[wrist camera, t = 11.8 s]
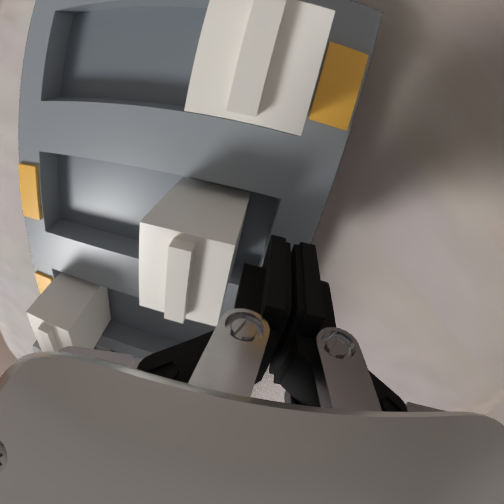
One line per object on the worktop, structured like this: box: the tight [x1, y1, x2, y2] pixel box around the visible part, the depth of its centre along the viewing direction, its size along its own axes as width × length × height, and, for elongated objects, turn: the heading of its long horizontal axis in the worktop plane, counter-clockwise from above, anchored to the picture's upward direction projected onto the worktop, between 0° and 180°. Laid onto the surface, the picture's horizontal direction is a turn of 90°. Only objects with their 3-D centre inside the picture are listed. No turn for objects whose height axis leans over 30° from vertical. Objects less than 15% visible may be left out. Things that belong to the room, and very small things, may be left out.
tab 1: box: [26, 272, 111, 352], centre depth 15 cm, size 4×3×5 cm
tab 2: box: [139, 177, 251, 326], centre depth 11 cm, size 4×3×5 cm
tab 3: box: [184, 0, 335, 136], centre depth 8 cm, size 4×3×5 cm
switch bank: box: [18, 0, 383, 359], centre depth 13 cm, size 21×15×3 cm
